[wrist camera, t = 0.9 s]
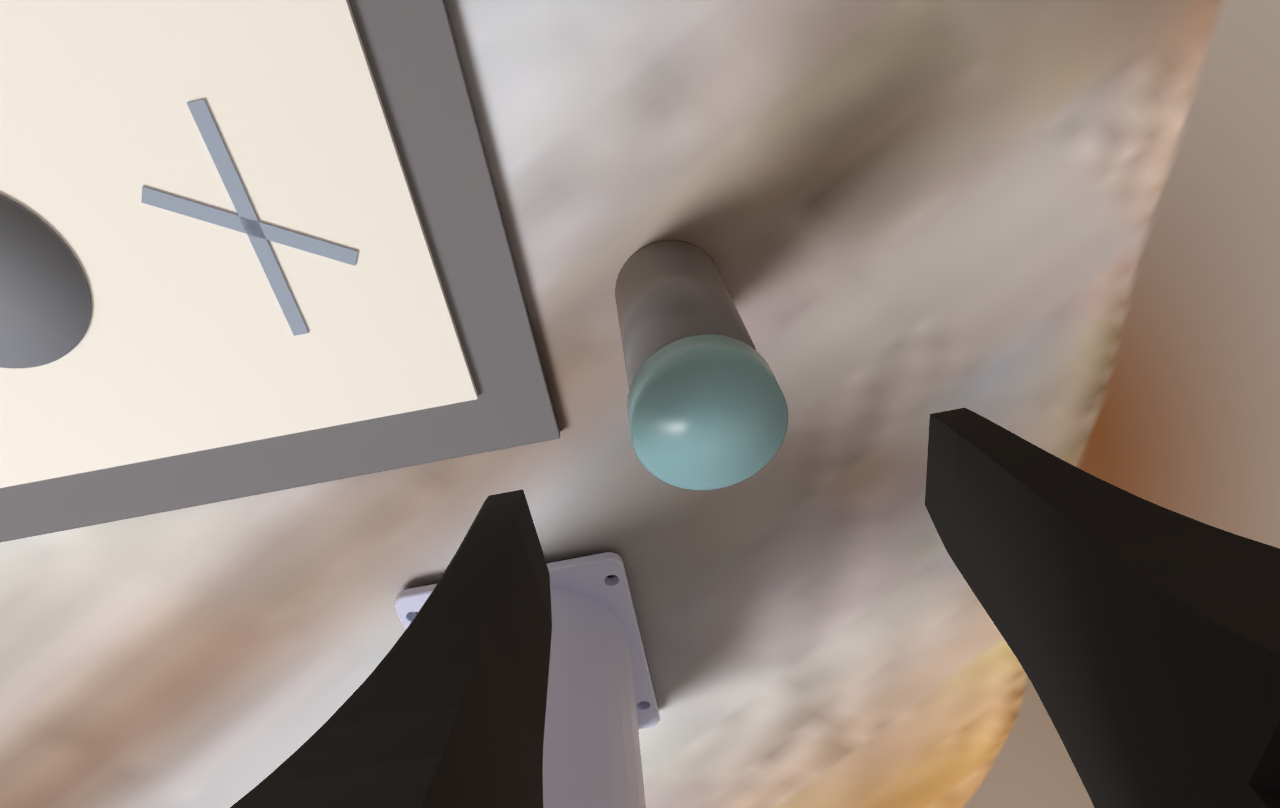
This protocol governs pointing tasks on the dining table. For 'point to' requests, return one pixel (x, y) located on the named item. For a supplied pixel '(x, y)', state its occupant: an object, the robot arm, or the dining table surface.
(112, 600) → the dining table surface
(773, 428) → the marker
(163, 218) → the grey framed board
